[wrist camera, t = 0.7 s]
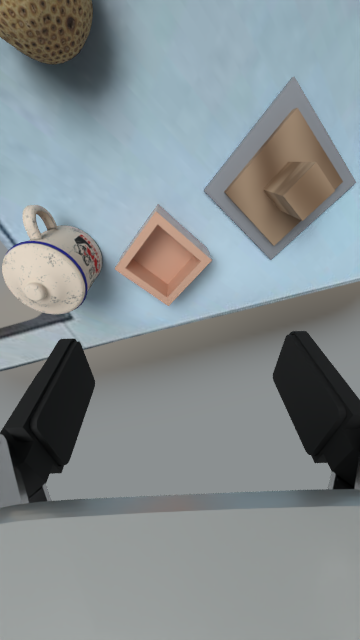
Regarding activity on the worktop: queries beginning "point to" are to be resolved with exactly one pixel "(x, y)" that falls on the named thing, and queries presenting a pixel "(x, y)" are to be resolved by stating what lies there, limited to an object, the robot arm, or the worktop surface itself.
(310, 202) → the lid
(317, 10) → the worktop surface
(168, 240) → the dish
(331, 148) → the mat
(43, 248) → the teacup with lid
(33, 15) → the natural sponge
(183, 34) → the worktop surface
